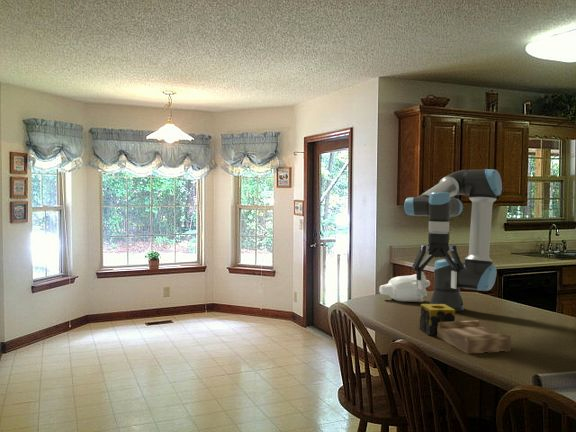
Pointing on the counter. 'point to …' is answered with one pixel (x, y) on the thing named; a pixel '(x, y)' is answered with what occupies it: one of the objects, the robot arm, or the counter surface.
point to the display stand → (473, 337)
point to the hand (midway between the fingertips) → (437, 288)
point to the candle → (435, 317)
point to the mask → (405, 289)
